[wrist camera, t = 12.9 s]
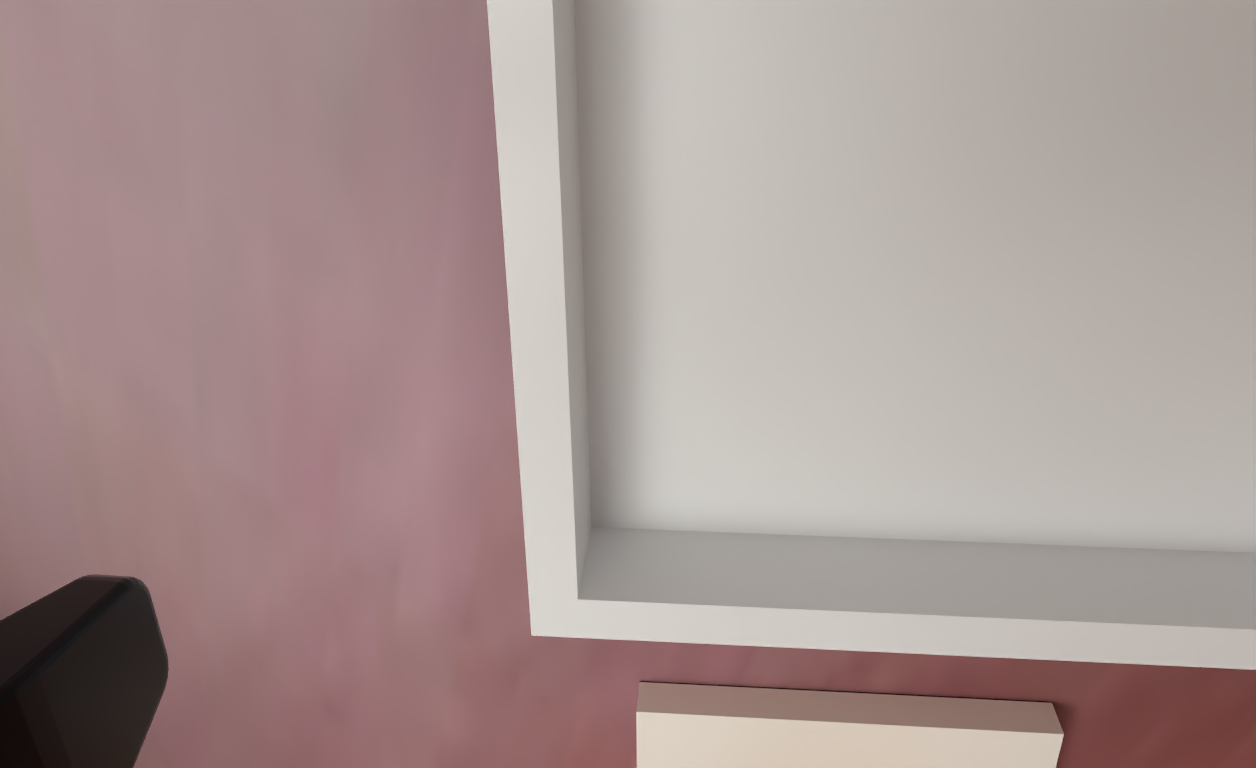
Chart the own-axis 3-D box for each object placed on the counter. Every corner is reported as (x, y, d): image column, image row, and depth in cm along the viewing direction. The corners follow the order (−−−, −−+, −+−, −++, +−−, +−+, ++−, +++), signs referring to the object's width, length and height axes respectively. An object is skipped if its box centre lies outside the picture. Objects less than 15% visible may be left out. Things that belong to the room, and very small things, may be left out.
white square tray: (552, 548, 24) (531, 635, 21) (500, -412, 16) (454, -465, 13) (1366, 581, 23) (1450, 679, 20) (1779, -454, 14) (2018, -522, 12)
